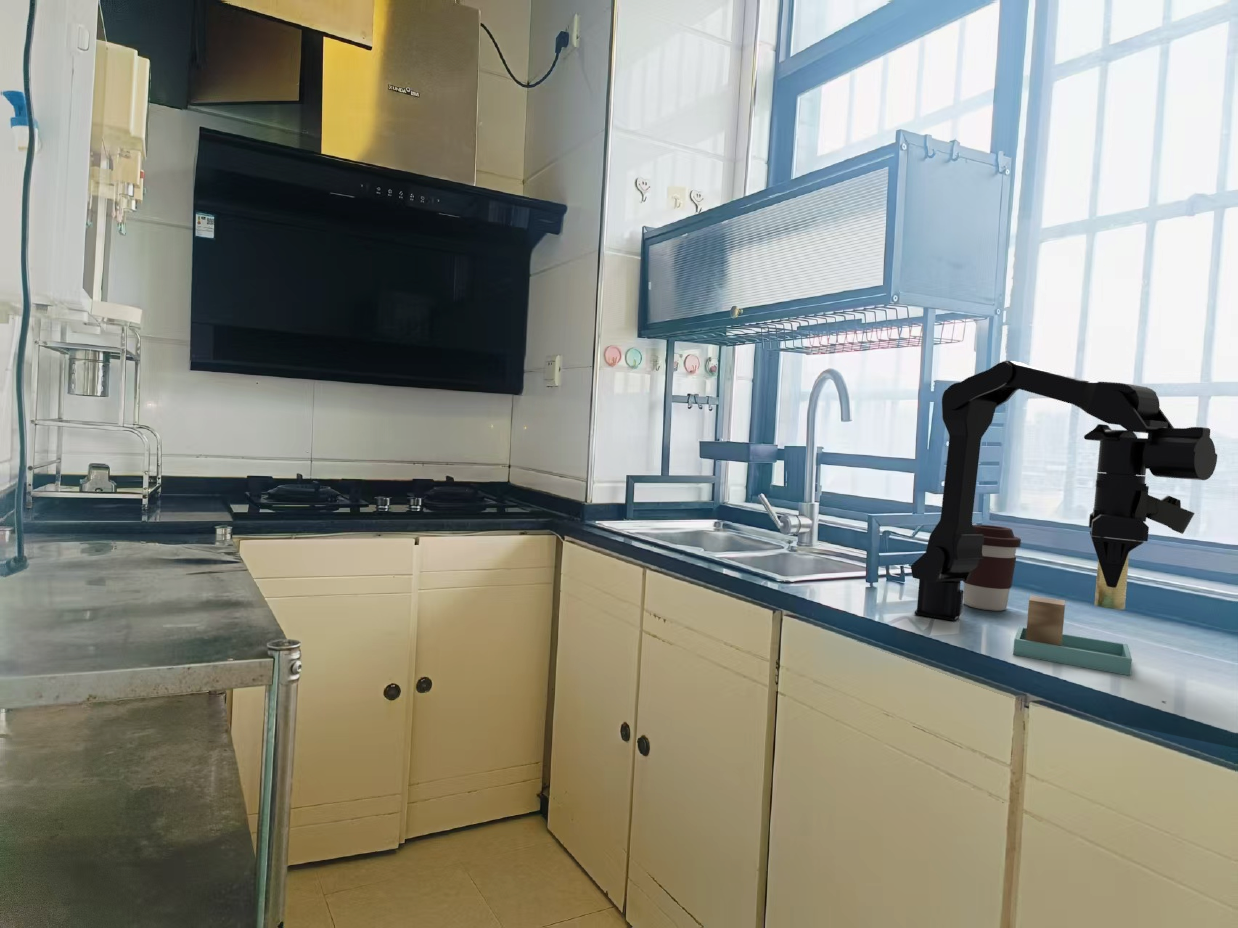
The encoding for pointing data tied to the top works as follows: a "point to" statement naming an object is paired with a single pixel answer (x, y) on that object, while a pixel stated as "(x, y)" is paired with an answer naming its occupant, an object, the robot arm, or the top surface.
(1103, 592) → the brass peg
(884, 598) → the top surface
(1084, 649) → the parts tray
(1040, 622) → the walnut block
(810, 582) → the top surface
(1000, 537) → the coffee cup
